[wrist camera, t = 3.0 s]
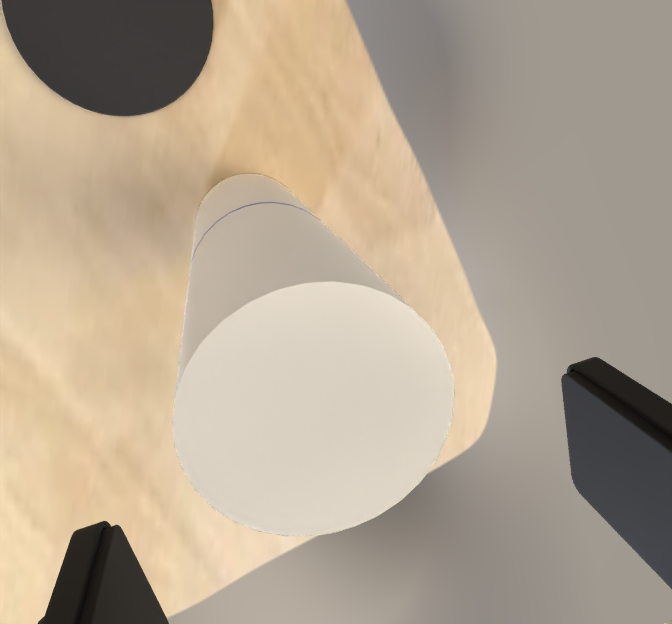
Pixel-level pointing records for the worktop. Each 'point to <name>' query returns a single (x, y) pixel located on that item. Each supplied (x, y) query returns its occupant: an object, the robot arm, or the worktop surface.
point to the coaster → (113, 49)
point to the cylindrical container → (300, 371)
